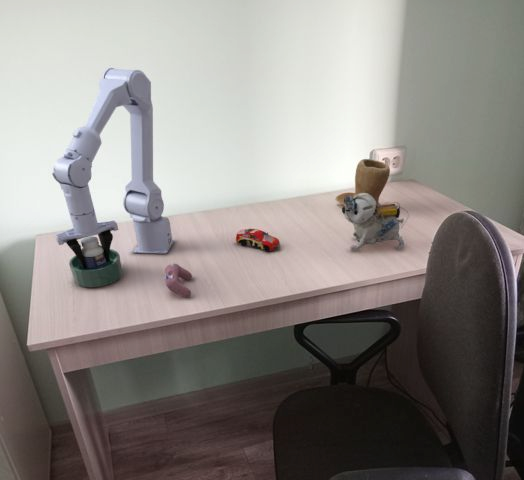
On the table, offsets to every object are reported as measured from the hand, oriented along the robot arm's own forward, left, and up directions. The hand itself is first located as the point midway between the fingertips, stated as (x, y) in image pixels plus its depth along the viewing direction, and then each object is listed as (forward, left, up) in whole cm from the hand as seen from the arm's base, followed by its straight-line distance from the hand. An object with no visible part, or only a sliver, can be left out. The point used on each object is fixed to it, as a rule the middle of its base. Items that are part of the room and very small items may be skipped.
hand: (95, 263), depth 124 cm
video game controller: (-23, +4, -4) cm, 23 cm away
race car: (-39, -21, -4) cm, 44 cm away
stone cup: (-69, -49, -4) cm, 84 cm away
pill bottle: (0, 0, -4) cm, 4 cm away
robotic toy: (-70, -22, -4) cm, 73 cm away
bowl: (0, 0, -4) cm, 4 cm away
